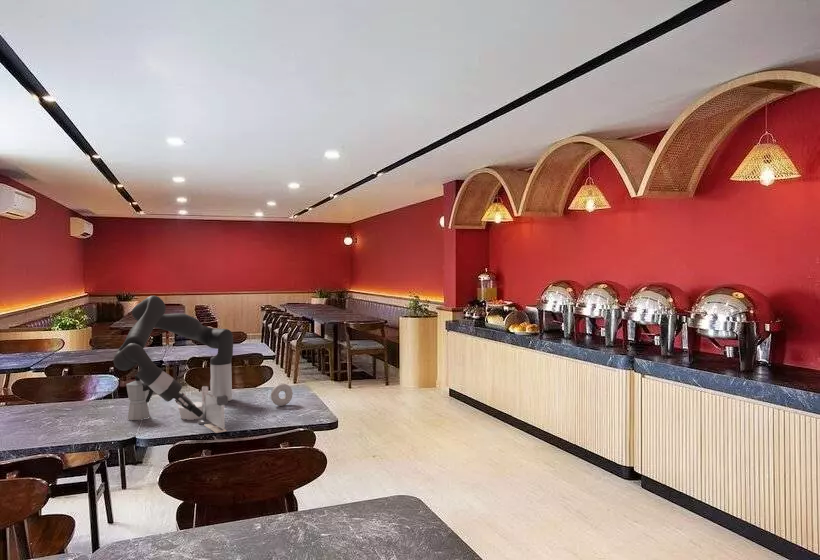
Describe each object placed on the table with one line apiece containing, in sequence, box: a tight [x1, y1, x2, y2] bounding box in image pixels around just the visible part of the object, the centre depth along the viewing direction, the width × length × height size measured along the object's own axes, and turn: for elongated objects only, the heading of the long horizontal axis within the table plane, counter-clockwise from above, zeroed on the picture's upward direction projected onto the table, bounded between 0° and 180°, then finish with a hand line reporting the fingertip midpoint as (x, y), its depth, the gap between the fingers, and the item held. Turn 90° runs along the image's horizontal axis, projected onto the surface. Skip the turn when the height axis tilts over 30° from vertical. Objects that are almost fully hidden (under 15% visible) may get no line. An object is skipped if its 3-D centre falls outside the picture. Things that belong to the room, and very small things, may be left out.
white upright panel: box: [201, 385, 229, 429], centre depth 225 cm, size 21×3×13 cm, turn 38°
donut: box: [270, 383, 294, 407], centre depth 259 cm, size 10×4×10 cm, turn 125°
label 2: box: [209, 427, 227, 434], centre depth 222 cm, size 6×4×1 cm, turn 38°
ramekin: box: [177, 401, 202, 421], centre depth 242 cm, size 11×11×5 cm
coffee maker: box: [125, 374, 154, 421], centre depth 240 cm, size 15×9×18 cm, turn 65°
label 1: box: [203, 423, 219, 430], centre depth 227 cm, size 6×4×1 cm, turn 38°
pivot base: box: [197, 418, 212, 426], centre depth 233 cm, size 6×6×1 cm
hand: (201, 414), depth 219 cm, fingers closed
